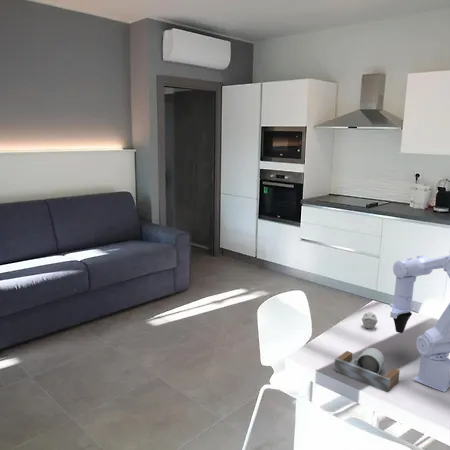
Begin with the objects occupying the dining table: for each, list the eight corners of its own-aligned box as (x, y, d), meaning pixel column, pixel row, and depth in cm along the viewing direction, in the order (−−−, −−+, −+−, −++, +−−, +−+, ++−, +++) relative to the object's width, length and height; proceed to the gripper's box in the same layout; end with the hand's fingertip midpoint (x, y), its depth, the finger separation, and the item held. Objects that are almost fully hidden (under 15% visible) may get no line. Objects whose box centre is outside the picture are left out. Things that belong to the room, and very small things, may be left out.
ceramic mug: (384, 369, 146) (386, 347, 144) (379, 380, 139) (381, 358, 137) (352, 361, 151) (353, 340, 149) (345, 372, 144) (347, 350, 142)
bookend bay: (398, 382, 138) (399, 370, 137) (387, 392, 132) (389, 380, 132) (346, 361, 150) (347, 350, 149) (334, 370, 144) (335, 358, 144)
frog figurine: (360, 330, 176) (361, 313, 174) (361, 323, 182) (363, 307, 181) (376, 332, 174) (378, 316, 172) (377, 326, 180) (378, 309, 179)
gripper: (400, 287, 158) (396, 322, 160) (383, 296, 147) (379, 334, 150) (420, 291, 153) (416, 328, 156) (404, 302, 143) (400, 341, 145)
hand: (399, 331), depth 153 cm, fingers closed
